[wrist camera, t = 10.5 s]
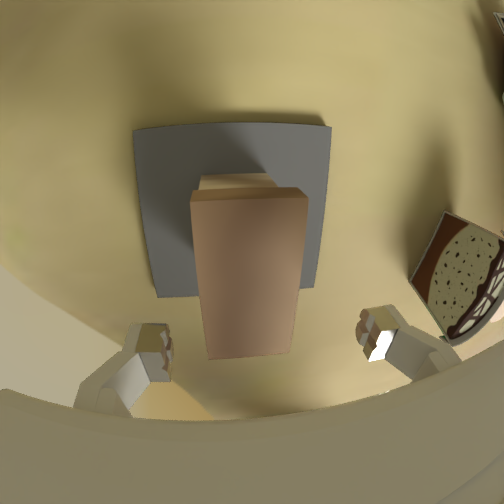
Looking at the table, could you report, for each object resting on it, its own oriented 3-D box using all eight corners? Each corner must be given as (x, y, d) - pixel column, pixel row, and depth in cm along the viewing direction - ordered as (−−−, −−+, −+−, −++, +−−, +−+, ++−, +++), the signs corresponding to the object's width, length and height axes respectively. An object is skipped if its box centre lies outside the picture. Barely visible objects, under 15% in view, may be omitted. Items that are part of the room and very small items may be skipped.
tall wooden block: (267, 159, 18) (309, 198, 10) (263, 269, 23) (289, 352, 15) (200, 161, 18) (189, 201, 10) (207, 272, 22) (208, 359, 14)
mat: (310, 281, 25) (313, 287, 24) (159, 290, 23) (157, 297, 23) (326, 126, 18) (331, 127, 18) (136, 129, 17) (132, 130, 16)
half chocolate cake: (430, 296, 30) (472, 347, 21) (402, 292, 28) (448, 351, 20) (472, 213, 24) (529, 253, 16) (449, 197, 23) (516, 240, 14)
